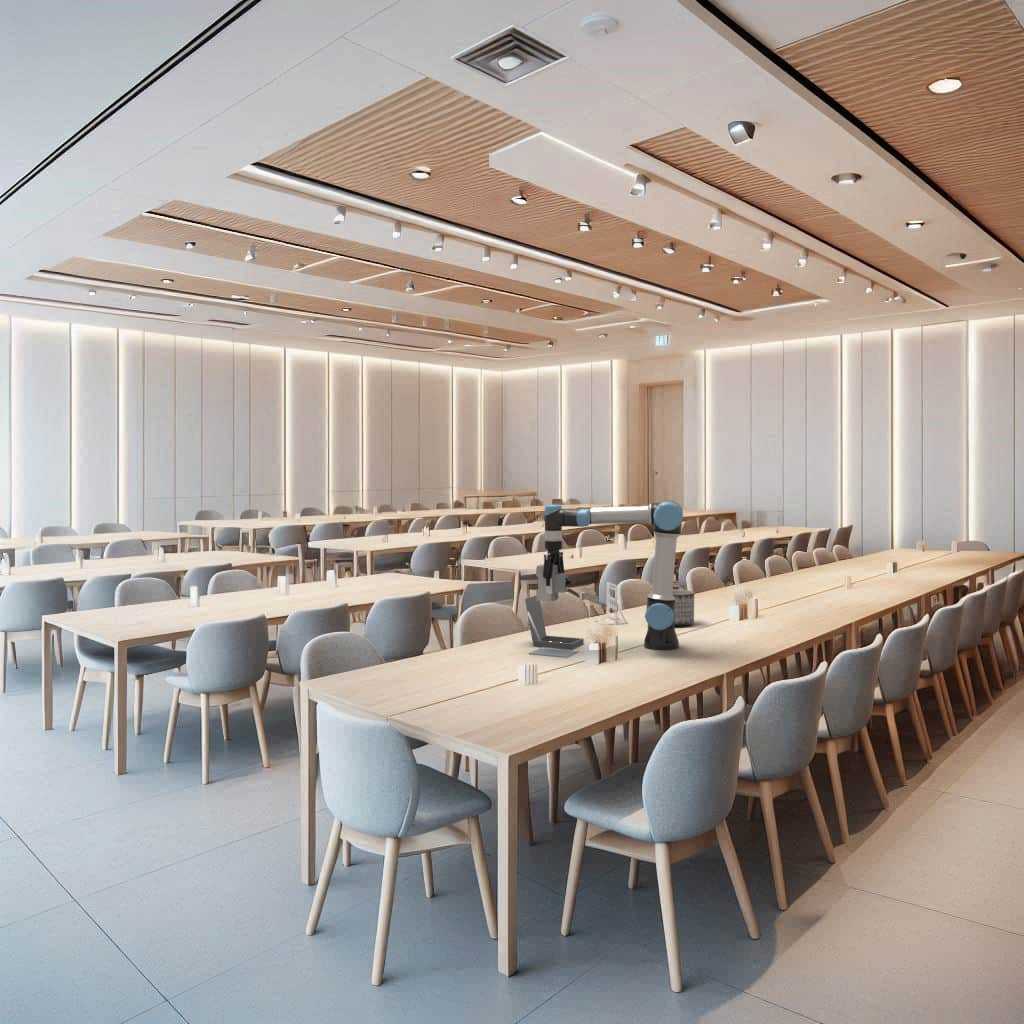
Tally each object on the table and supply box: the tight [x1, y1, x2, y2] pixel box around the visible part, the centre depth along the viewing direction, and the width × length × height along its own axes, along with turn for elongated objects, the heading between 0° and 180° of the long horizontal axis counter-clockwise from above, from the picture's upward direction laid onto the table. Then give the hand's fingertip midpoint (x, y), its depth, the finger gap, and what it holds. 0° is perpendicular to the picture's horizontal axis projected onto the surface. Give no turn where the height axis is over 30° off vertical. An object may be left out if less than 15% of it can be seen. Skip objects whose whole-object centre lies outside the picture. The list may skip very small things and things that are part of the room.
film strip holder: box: [605, 581, 629, 626], centre depth 437 cm, size 14×14×20 cm
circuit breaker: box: [535, 563, 572, 602], centre depth 371 cm, size 8×14×15 cm, turn 75°
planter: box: [672, 588, 695, 628], centre depth 427 cm, size 19×19×16 cm
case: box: [524, 595, 585, 651], centre depth 383 cm, size 23×14×21 cm, turn 62°
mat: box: [528, 647, 579, 659], centre depth 366 cm, size 18×12×1 cm, turn 62°
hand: (554, 592), depth 371 cm, fingers closed on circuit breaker, 9 cm apart
